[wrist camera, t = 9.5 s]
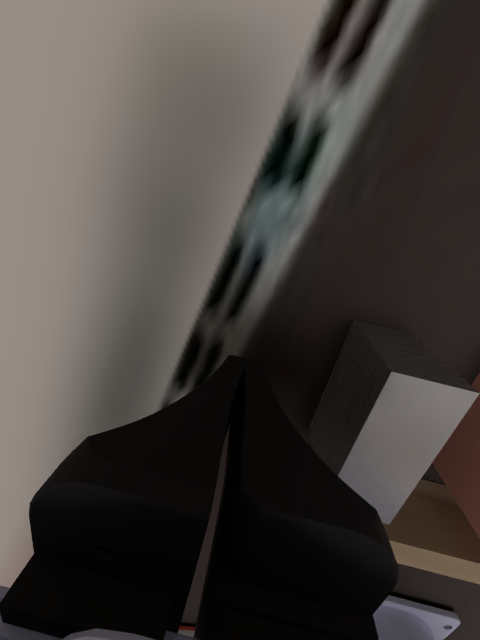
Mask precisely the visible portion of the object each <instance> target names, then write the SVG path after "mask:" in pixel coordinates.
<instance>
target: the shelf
mask: <svg viewBox="0 0 480 640" xmlns="http://www.w3.org/2000/svg"><path fill="white" fill-rule="evenodd" d="M383 526H384V528H385V530H386V533H387V536H388V538H389V541H390V544H391V547H392V550H393V553H394V556H395V559H396V561H397V563H399V564H403V565H407V566H411V567H415V568H419V569H422V570H426V571H430V572H434V573H438V574H442V575H445V576H449V577H453V578H457V579H461V580H465V581H469V582H472V583H476V584H480V539H479V537H478V535H477V534H476V532H475V531H474V529H473V528H472V526H471V524H470V523H469V521H468V520H467V518H466V516H465V515H464V513H463V512H462V510H461V508H460V507H459V505H458V504H457V502H456V500H455V499H454V497H453V496H452V494H451V493H450V491H449V489H448V488H447V486H446V485H443V484H439V483H435V482H431V481H427V480H423V479H420V481H419V482H418V484H417V485H416V487H415V488H414V489H413V491H412V492H411V494H410V495H409V497H408V498H407V500H406V501H405V502H404V504H403V505H402V507H401V508H400V510H399V511H398V513H397V514H396V516H395V517H394V518H393V520H392V521H391V523H390V524H389V525H387V524H383Z"/></svg>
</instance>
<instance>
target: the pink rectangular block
mask: <svg viewBox="0 0 480 640" xmlns="http://www.w3.org/2000/svg"><path fill="white" fill-rule="evenodd" d="M471 386H472V387H473V388H474V389H475V390H477V391H478V392H479V393H480V373H479V374H478V376H477V377H476V379H475V380H474V382H473V383H472V385H471ZM432 464H433V466H434V467H435V469H436V470H437V472H438V473H439V475H440V477H441V478H442V480H443V481H444V483H445V485H446V486H447V488H448V489H449V491H450V493H451V494H452V496H453V497H454V499H455V500H456V502H457V504H458V505H459V507H460V508H461V510H462V512H463V513H464V515H465V516H466V518H467V520H468V521H469V523H470V524H471V526H472V528H473V529H474V531H475V532H476V534H477V535H478V537H479V539H480V394H479V395H478V397H477V398H476V400H475V401H474V402H473V404H472V405H471V407H470V408H469V410H468V411H467V413H466V414H465V416H464V417H463V418H462V420H461V421H460V423H459V424H458V426H457V427H456V429H455V430H454V431H453V433H452V434H451V436H450V437H449V439H448V440H447V442H446V443H445V445H444V446H443V447H442V449H441V450H440V452H439V453H438V455H437V456H436V458H435V459H434V460H433V462H432Z"/></svg>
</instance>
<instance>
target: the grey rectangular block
mask: <svg viewBox="0 0 480 640" xmlns="http://www.w3.org/2000/svg"><path fill="white" fill-rule="evenodd" d="M479 394H480V393H479V392H478V391H477V390H475V389H474V388H473V387H472V386H471V385H470V384H469V383H468V382H466V381H465V380H464V379H463V378H462V377H461V376H460V375H458V374H457V373H456V372H455V371H454V370H453V369H452V368H451V367H449V366H448V365H447V364H446V363H445V362H444V361H443V360H441V359H440V358H439V357H438V356H437V355H436V354H435V353H434V352H432V351H431V350H430V349H429V348H428V347H427V346H426V345H424V344H423V343H422V342H421V341H420V340H419V339H418V338H417V337H415V336H414V335H413V334H409V333H404V332H400V331H396V330H392V329H388V328H384V327H380V326H376V325H372V324H367V323H363V322H359V321H355V320H353V323H352V325H351V327H350V330H349V332H348V335H347V337H346V340H345V342H344V344H343V347H342V349H341V352H340V354H339V356H338V359H337V361H336V364H335V366H334V369H333V371H332V373H331V376H330V378H329V381H328V383H327V385H326V388H325V390H324V393H323V395H322V398H321V400H320V402H319V405H318V407H317V410H316V412H315V414H314V417H313V419H312V422H311V424H310V427H309V435H310V441H311V447H312V450H313V451H314V452H315V453H316V454H317V455H318V456H319V457H320V459H321V460H322V461H323V462H324V463H325V464H326V465H327V466H328V467H329V468H330V469H331V470H332V471H333V472H334V473H335V474H336V475H337V476H338V477H339V478H340V479H341V480H343V481H344V482H345V483H346V484H347V485H348V486H349V487H350V488H352V489H353V490H354V491H355V492H356V493H357V494H359V495H360V496H361V497H362V498H363V499H364V500H366V501H367V502H368V503H369V504H370V505H371V506H373V507H374V508H375V509H376V510H377V512H378V514H379V516H380V519H381V521H382V523H383V524H387V525H389V524H390V523H391V521H392V520H393V518H394V517H395V516H396V514H397V513H398V511H399V510H400V508H401V507H402V505H403V504H404V502H405V501H406V500H407V498H408V497H409V495H410V494H411V492H412V491H413V489H414V488H415V487H416V485H417V484H418V482H419V481H420V479H421V478H422V476H423V475H424V473H425V472H426V471H427V469H428V468H429V466H430V465H431V463H432V462H433V460H434V459H435V458H436V456H437V455H438V453H439V452H440V450H441V449H442V447H443V446H444V445H445V443H446V442H447V440H448V439H449V437H450V436H451V434H452V433H453V431H454V430H455V429H456V427H457V426H458V424H459V423H460V421H461V420H462V418H463V417H464V416H465V414H466V413H467V411H468V410H469V408H470V407H471V405H472V404H473V402H474V401H475V400H476V398H477V397H478V395H479Z"/></svg>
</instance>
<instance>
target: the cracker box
mask: <svg viewBox="0 0 480 640" xmlns="http://www.w3.org/2000/svg"><path fill="white" fill-rule="evenodd" d="M194 632H195V627H193V626H181V625H180V627H179V631H178V634H182V635H185V636H189V637H194Z"/></svg>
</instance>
